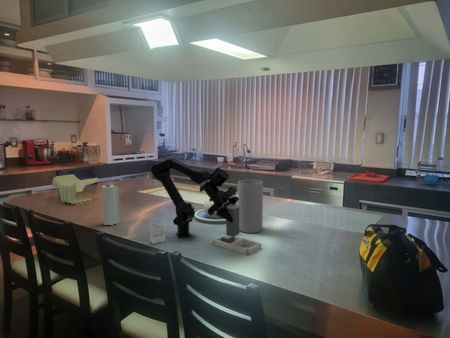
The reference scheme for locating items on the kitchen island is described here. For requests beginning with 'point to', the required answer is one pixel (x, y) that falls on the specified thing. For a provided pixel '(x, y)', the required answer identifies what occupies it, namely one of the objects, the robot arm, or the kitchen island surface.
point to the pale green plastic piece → (71, 187)
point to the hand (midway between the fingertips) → (235, 220)
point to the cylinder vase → (250, 205)
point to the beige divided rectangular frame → (236, 244)
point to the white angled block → (156, 233)
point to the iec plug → (233, 227)
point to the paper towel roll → (110, 204)
